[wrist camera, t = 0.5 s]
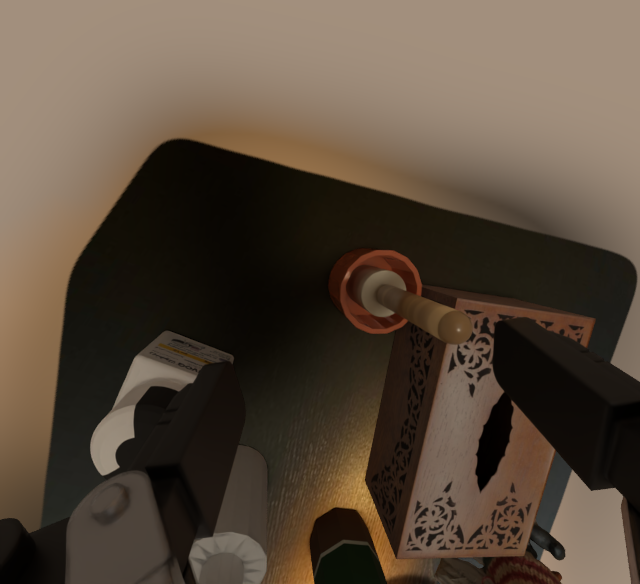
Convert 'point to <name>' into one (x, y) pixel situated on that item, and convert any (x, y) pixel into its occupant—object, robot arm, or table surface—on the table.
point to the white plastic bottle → (237, 527)
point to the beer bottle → (344, 550)
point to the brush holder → (377, 259)
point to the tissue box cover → (460, 438)
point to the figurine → (505, 566)
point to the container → (147, 398)
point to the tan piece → (406, 304)
